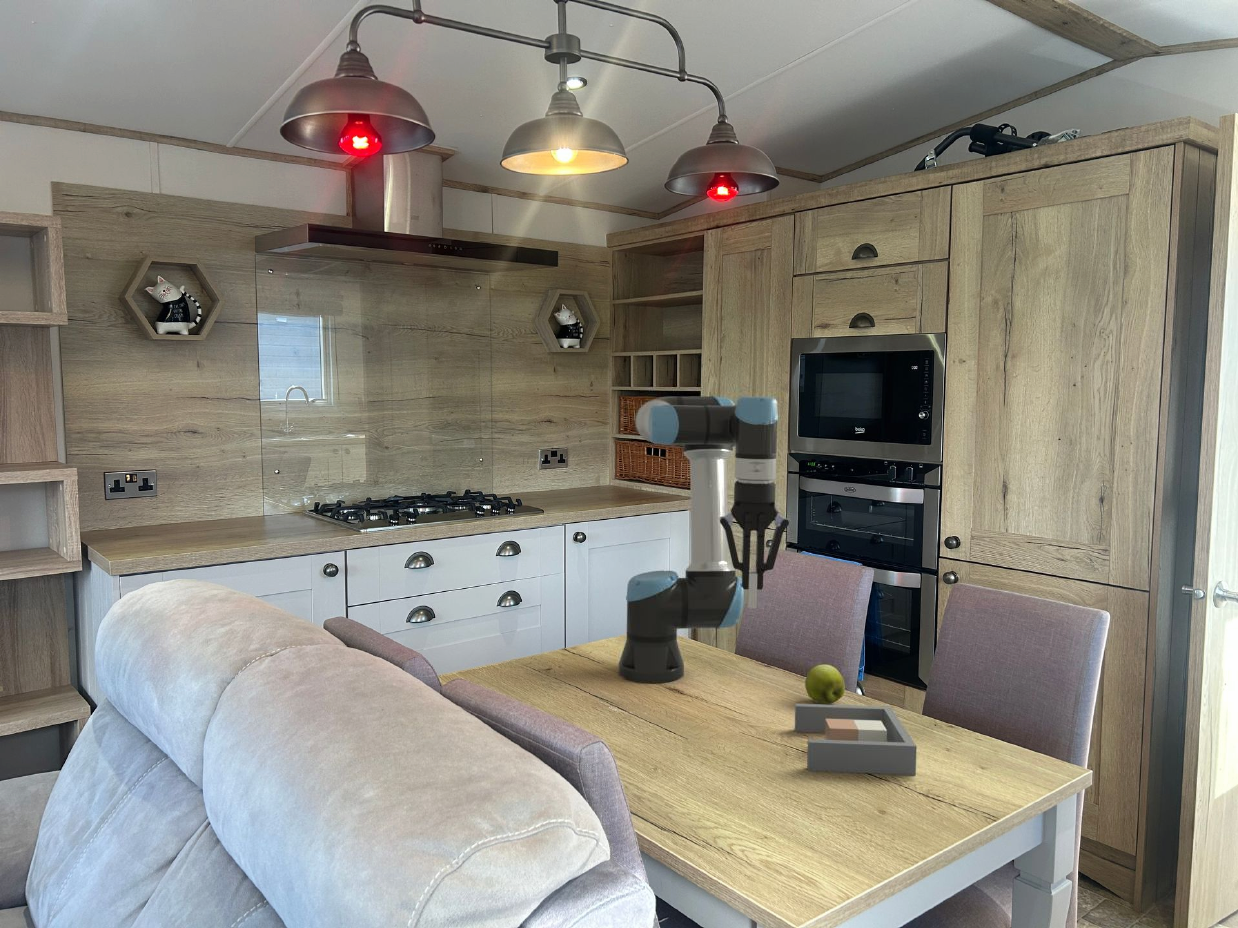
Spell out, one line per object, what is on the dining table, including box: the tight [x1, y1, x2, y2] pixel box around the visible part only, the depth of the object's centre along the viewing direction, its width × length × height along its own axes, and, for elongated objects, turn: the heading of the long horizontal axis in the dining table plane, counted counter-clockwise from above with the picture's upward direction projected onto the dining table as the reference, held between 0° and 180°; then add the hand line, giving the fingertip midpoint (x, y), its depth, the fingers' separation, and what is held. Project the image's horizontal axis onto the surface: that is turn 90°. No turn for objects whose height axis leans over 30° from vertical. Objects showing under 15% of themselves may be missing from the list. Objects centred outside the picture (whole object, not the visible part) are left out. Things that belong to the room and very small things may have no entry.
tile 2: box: [854, 720, 887, 742], centre depth 164 cm, size 5×5×5 cm
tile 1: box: [824, 719, 858, 741], centre depth 165 cm, size 5×5×5 cm
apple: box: [804, 664, 846, 705], centre depth 190 cm, size 8×9×8 cm
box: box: [794, 703, 918, 776], centre depth 164 cm, size 20×18×5 cm
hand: (751, 606), depth 169 cm, fingers closed
